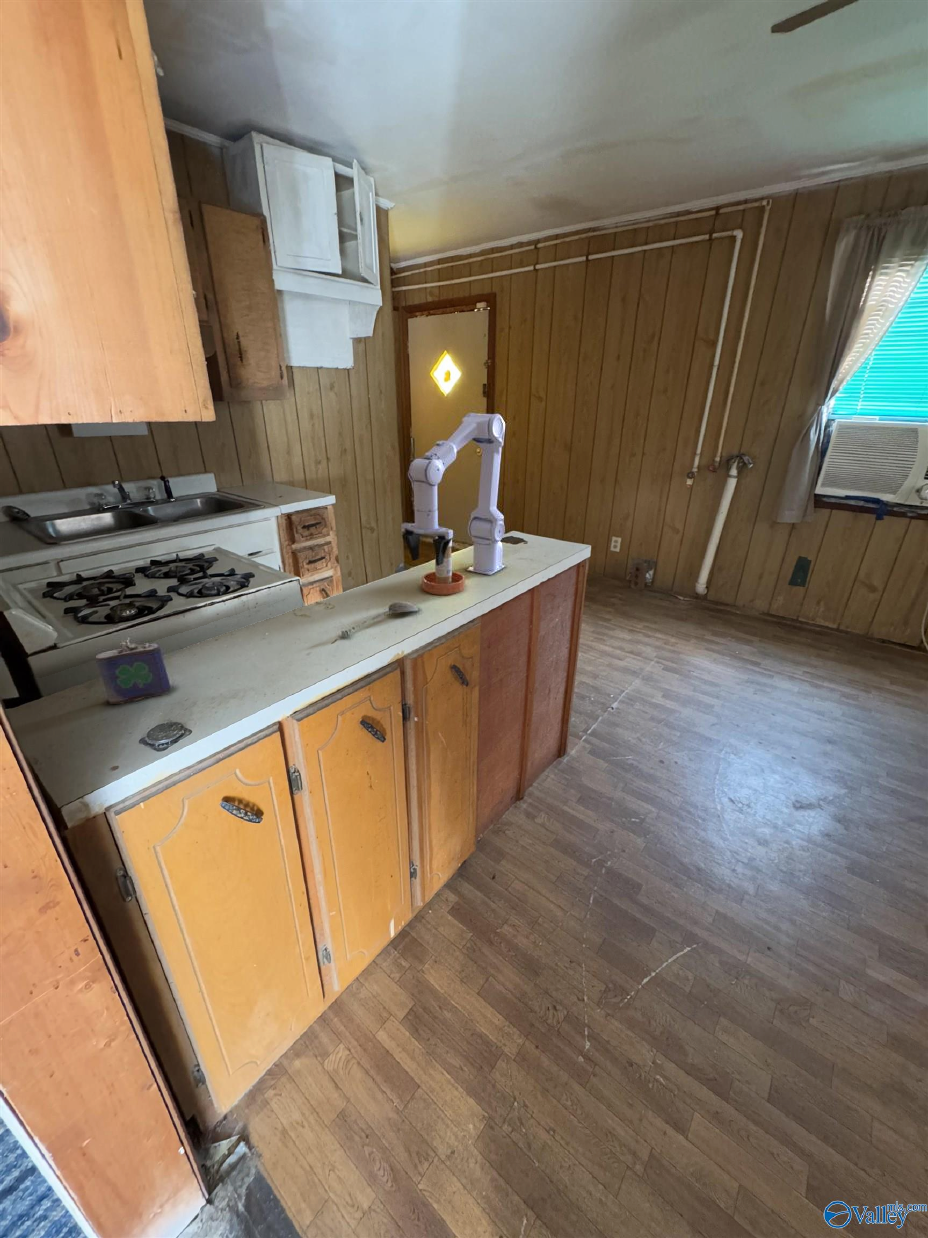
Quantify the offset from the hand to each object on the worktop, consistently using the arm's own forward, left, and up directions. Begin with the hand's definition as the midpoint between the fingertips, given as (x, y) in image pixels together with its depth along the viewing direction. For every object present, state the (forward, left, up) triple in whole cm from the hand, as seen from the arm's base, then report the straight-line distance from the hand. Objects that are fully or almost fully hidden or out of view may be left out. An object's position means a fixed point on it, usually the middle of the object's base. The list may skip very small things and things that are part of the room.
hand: (427, 562), depth 130 cm
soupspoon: (+21, +1, -9) cm, 23 cm away
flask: (+67, -14, -9) cm, 69 cm away
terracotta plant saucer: (-6, +1, -9) cm, 10 cm away
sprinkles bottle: (-6, +1, -8) cm, 10 cm away
